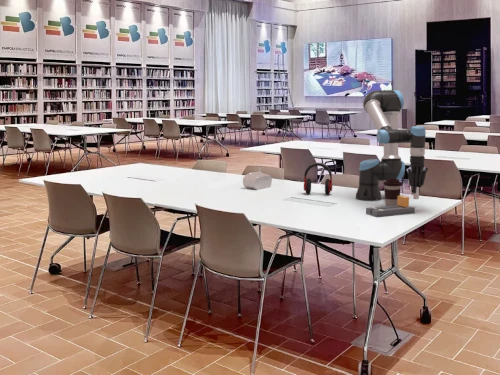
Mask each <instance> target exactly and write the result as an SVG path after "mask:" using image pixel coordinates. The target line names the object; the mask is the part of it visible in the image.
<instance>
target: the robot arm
mask: <svg viewBox="0 0 500 375" xmlns="http://www.w3.org/2000/svg"><path fill="white" fill-rule="evenodd" d="M404 105H405V100H404V95H403V94H402V92H401V91H400V90H395V89H385V90H384V89H383V90H378V89H377V90H371V91H370V92H369V93H367V94H366V95H365V97H364V99H363V101H362V106H363V110H364V111H365V112H366V113H367V114H368V115H369V117H370V119H371V121H372V123H373V125H374V127H375V129H376V131H377V132H376V141H377V143H379V144H383V156H382V157H381V159H380V160H379V159H376V158H369V159H365V160H362V161H361V162H360V163H359V167H358V170H359V171H358V172H359V173H358V174H359V176H358V188H357V191H356V193H355V199H356V200H360V201H361V200H362V201H379V200H382V193H381V189H380V186H379V184H380V182H385V181H386V180H387V179H398V180H399V181H400V180H402V178H403V177H404V175H405V171H406V174H407V178H408V184H409V186H411V187H412V193H413V195H412V197H413V199H414V200H419V198H420V197H419V196H420V192H421V188H422V186H424V183H425V180H426V174H427V171H428V170H429V168H428V167H426V166H425V155H426V154H425V153H426V152H425V151H426V135H427V132H426V127H425V126H420V125H417V126H414V125H413V126H411V128H406V129H405V128H404V129H403V128H399V123H398V122H399V118H398V117H399V114H400V113H401V110H403V109H404ZM399 144H410V147H409V148H410V150H409V152H410V153H409V154H410V156H409V163H410V164H409V167H408V168H406V165H405V162H404V161H403V160H402V157H401V156H400V155H399Z"/></svg>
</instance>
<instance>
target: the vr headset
mask: <svg viewBox="0 0 500 375" xmlns="http://www.w3.org/2000/svg"><path fill="white" fill-rule="evenodd" d="M272 179H273V178H272V175H270V174H267V173H263V172H262V171H261V166H258V171H253V172H252V171H251V172H248V173H247V174H245V175H244V176H243V179H242V185H243V187H245V188H246V189H252V190H258V189H259V190H264V189H268V188H271V186H272V181H273V180H272Z"/></svg>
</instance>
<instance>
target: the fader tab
mask: <svg viewBox="0 0 500 375" xmlns="http://www.w3.org/2000/svg"><path fill="white" fill-rule="evenodd" d="M409 204H410V197H409V196H405V195H401V194H400V196H398V199H397V205H399V206H401V207H409V206H410V205H409Z"/></svg>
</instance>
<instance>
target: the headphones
mask: <svg viewBox="0 0 500 375" xmlns="http://www.w3.org/2000/svg"><path fill="white" fill-rule="evenodd" d="M314 167H321V168H324V169H326V171H327V172H328V174H329V178H330V179H329V178H326V179H325V183H324V193H325V195H327V196H328V195H330V193H331V192H332V191H333V174H332V170H331V169H330V167H329V166H328V165H327V164H325V163H323V162H314V163H312V164H310V165H309V166H307V168H306V169H305V172H304V175H303V176H304V177H303V181H304V182H303V190H304V191H305V194H306V195H310V194H311V192H312V180H311V178H307V175H308V172H309V171H310V170H311V169H312V168H314Z"/></svg>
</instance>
